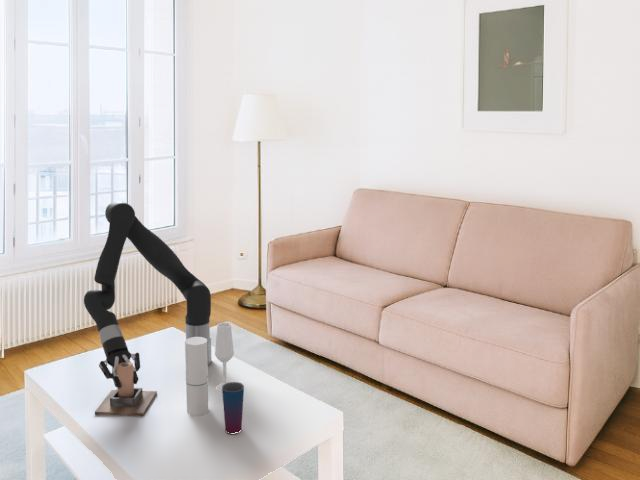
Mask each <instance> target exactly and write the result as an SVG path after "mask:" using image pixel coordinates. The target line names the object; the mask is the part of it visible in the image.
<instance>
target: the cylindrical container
mask: <svg viewBox="0 0 640 480" xmlns="http://www.w3.org/2000/svg"><path fill="white" fill-rule="evenodd" d="M184 351H185V352H184V353H185V354H184V356H185V381H186V382H185V383H186V384H185V385H186V386H185V387H186V391H185V393H186V412H187V414H188V415H190V416H195V417H196V416H197V417H199V416H203V414H204V415H205V413H206V414H207V413H208V412H209V410H210V409H209V374H208V373H209V372H208V369H209V368H208V367H209V366H208V356H207V339H206V338H204V337H191V338H188V339H186V338H185V340H184Z"/></svg>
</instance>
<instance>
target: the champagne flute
mask: <svg viewBox="0 0 640 480" xmlns="http://www.w3.org/2000/svg"><path fill="white" fill-rule="evenodd" d="M232 332H233V331H232V325H231V323H229V322H220V323H219V322H218V323H217V325H216V336H215V348H214V350H215V351H214V356H215V357H216V359H218V361H220V362H221V363H222V378H223V379H222V382H221V383H218V384H217V385H216V386H215V388H216V387H217V389H218V390H217V389H216V390H217V391H219V390H222V386H223V385H224V384H226V383H229V382H227V363H229V361H231V359H232V358H233V357H234V355H235V351H234V350H235V349H234V342H233V333H232Z"/></svg>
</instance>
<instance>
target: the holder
mask: <svg viewBox="0 0 640 480" xmlns="http://www.w3.org/2000/svg"><path fill="white" fill-rule="evenodd" d="M157 393H158V392H157V390H143V387H134V398H118V388H117V387H116V389H111V390H110V391H109V393H108V394H107V395H106V396H105V398H104V399H103V401H102V402H101V403H100V405H99V406H98V407H97V408H96V410H95V411H94V415H96V416H97V415H99V416H122V417H123V416H127V417H128V416H129V417H144V416H145V414H146V412H147V411H148V409H149V407H150V406H151V404H152V402H153V401H154V399H155V397H156V396H157Z"/></svg>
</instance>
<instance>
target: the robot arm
mask: <svg viewBox="0 0 640 480" xmlns="http://www.w3.org/2000/svg"><path fill="white" fill-rule="evenodd" d="M104 213H105V219H106V221H107V222H108V223H109V226H108V234H107V238H106V241H105V245H104V247H103V249H102V251H101V253H100V255H99V259H98V262H97V264H96V268H95V269H96V270H95V274H94V278H93V279H94V282H95V283H97V284H98V285H101V290H100V289H99V290H98V289H90V290H88V291H87V292H86V293H85V294H84V297H83V304H84V308H85V309H86V311H87V312H88V314H89V315H90V317H91V318H92V320H93V321H94V322H95V325H96V328H97V331H98V334H99V340H100V343H101V346H102V348H103V351H104V355H105V358H106V359H105V360H101V361H100V362H99V364H98V367H99V368H100V370H101V372H102V374H104V376H105V378H106V379H108V380H109V379H112V381H113V384H114V387H115V388H116V389H117V388H118V389H119V388H121V383H120V380H119V378H118V376H117V365H118V364H119V363H122V362H130V363H132V362H131V361H130V360H131V358H132V360H133V361H134V362H133V363H134V365H133V378H134V385H137V384H138V381H139V376H138V373H137V372H139V371H140V369H141V360H140V358H141V357H140V352H136V353H131V352H130V351H129V349H128V345H127V342H126V340H125V337H124V335H123V334H124V333H123V331H122V329H121V327H120V324H119V322H118V320H117V316H116V314H115V313H114V312H113V311H110V309H111V308H112V307H113V306H114V304H115V301H116V284H115V283H116V281H115V280H116V276H117V272H118V269H119V265H120V260H121V256H122V253H123V249H124V245H125V243H126V240H127V239H128V240H129V241H130V242H131V243H132V245H133V246H134V247H135V249H136V250H137V251H138V252H139V253H140V255H141V256H142V257H143V258H144V259H145V260H146V261H147V262H148V264H149V265H151V266H152V267H153V268H154V269H155V270H156V271H157V272H158V273H159V274H161V275H163V276H164V277H166V278H167V279H169V281H170V282H172V283H173V284H174V285H175V287H176V288H177V290H179V292H180V293H181V294H182V296H183V298H184V299H185V300H186V314H185V340H186V339H188V338H191V337H204V338H206V339H207V356H208V367H210V365H211V362H212V338H211V333H210V331H211V329H210V324H211V323H210V317H211V313H212V312H211V311H212V307H211V306H212V296H211V295H212V294H211V291H210V288H208V286H207V285H206V284H205V283H204V282H203V281H201V280H200V279H198V278H197V277H196V276H195V275H194V274H193V273H191V272H190V271H189V270H188V268H186V266H185V265H184V263H183V262H182V261H181V260H180V258H179V257H178V255H177V254H176V252H174V250H173V249H172V248H170V246H169V245H168V244H167V243H165V241H163V239H161V238H160V237H159V236H158V235H156V234H155V233H154V232H152V231H151V230H150V229H149V228H147V227H146V226H145V225H144V224H143V223H142V222H141V221H140V219H138V217H137V216H136V212H135V210H134V208H133V206H131V204H129V203H127V202H124V201H113V202H111V203H109V204H108V205H107V206H106V208H105V212H104ZM108 365H109V366H110V367H112V368H111V371H110V369H109V367H108Z"/></svg>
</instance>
